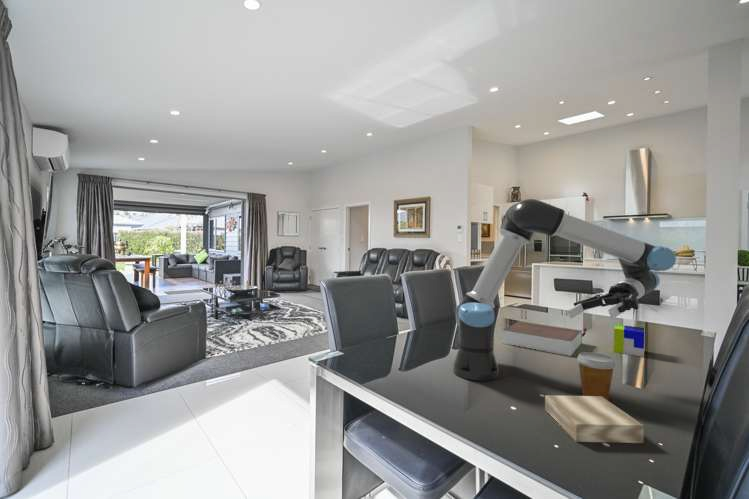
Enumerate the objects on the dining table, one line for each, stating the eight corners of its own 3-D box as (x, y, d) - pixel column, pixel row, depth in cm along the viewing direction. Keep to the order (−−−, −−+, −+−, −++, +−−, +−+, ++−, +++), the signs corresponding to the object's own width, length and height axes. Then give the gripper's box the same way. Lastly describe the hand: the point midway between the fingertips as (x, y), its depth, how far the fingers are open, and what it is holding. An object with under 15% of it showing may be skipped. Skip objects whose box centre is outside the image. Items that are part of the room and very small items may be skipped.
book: (518, 334, 176) (518, 321, 176) (581, 344, 158) (582, 330, 158) (501, 344, 157) (501, 330, 157) (571, 357, 139) (571, 341, 139)
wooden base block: (576, 441, 78) (576, 424, 78) (544, 410, 93) (545, 395, 93) (643, 443, 78) (643, 425, 78) (601, 411, 93) (601, 396, 93)
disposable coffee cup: (603, 391, 106) (603, 352, 106) (622, 405, 96) (623, 363, 96) (570, 389, 107) (571, 351, 107) (586, 404, 97) (586, 361, 97)
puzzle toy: (643, 357, 140) (644, 332, 140) (613, 352, 146) (614, 328, 146) (643, 351, 148) (644, 327, 148) (614, 346, 154) (615, 324, 154)
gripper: (672, 301, 108) (635, 326, 99) (594, 303, 130) (558, 324, 121) (663, 278, 108) (626, 301, 99) (587, 285, 131) (551, 304, 122)
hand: (589, 314), depth 110 cm, fingers open, 13 cm apart
